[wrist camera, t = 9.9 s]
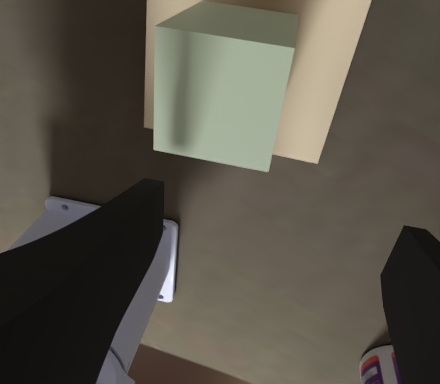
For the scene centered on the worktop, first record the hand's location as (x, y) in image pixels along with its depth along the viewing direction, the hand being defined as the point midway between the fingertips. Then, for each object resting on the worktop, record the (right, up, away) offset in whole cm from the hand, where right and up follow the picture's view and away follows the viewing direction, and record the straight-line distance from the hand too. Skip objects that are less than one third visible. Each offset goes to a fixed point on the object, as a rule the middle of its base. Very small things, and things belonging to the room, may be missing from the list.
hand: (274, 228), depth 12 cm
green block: (-1, +7, +5) cm, 9 cm away
